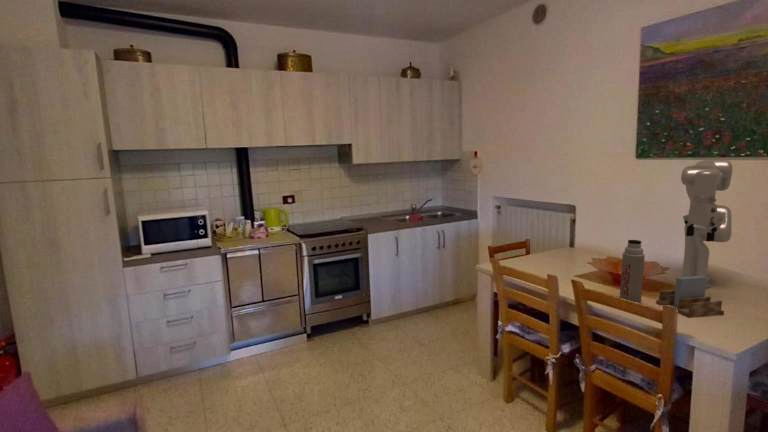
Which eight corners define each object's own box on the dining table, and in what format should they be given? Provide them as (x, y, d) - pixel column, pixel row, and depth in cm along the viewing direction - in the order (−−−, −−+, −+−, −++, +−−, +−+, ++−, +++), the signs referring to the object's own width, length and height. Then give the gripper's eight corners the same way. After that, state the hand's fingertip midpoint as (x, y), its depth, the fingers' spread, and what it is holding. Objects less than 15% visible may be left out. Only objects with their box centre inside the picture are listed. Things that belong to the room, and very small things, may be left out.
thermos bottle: (627, 307, 172) (632, 243, 168) (615, 300, 180) (619, 239, 176) (645, 306, 173) (650, 242, 169) (632, 299, 181) (636, 238, 177)
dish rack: (688, 300, 179) (689, 288, 178) (723, 314, 163) (725, 301, 162) (656, 303, 176) (657, 291, 175) (688, 317, 161) (690, 304, 160)
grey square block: (698, 302, 172) (701, 275, 170) (703, 305, 169) (706, 277, 168) (673, 305, 170) (676, 277, 168) (678, 307, 167) (681, 279, 166)
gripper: (731, 202, 166) (726, 242, 170) (693, 196, 183) (689, 233, 186) (714, 203, 165) (710, 244, 169) (678, 197, 182) (675, 234, 185)
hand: (699, 238), depth 177 cm, fingers open, 9 cm apart
